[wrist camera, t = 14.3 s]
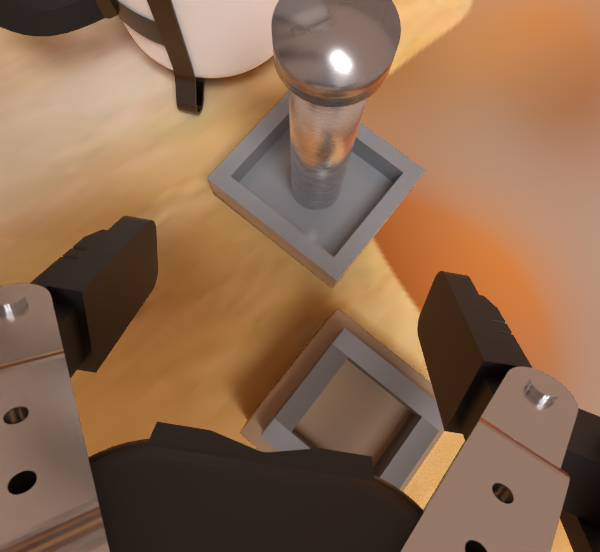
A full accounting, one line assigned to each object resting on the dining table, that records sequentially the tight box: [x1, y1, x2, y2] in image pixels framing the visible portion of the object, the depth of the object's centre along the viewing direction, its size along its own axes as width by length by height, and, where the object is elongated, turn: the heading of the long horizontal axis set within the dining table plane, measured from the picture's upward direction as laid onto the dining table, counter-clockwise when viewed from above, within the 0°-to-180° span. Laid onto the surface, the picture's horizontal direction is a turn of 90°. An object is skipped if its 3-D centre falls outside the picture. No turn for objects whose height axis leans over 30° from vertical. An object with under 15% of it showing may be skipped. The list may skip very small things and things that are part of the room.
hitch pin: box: [271, 0, 401, 210], centre depth 19 cm, size 4×4×13 cm
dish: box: [207, 91, 425, 288], centre depth 26 cm, size 10×9×2 cm
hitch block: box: [240, 309, 444, 492], centre depth 21 cm, size 8×8×6 cm
